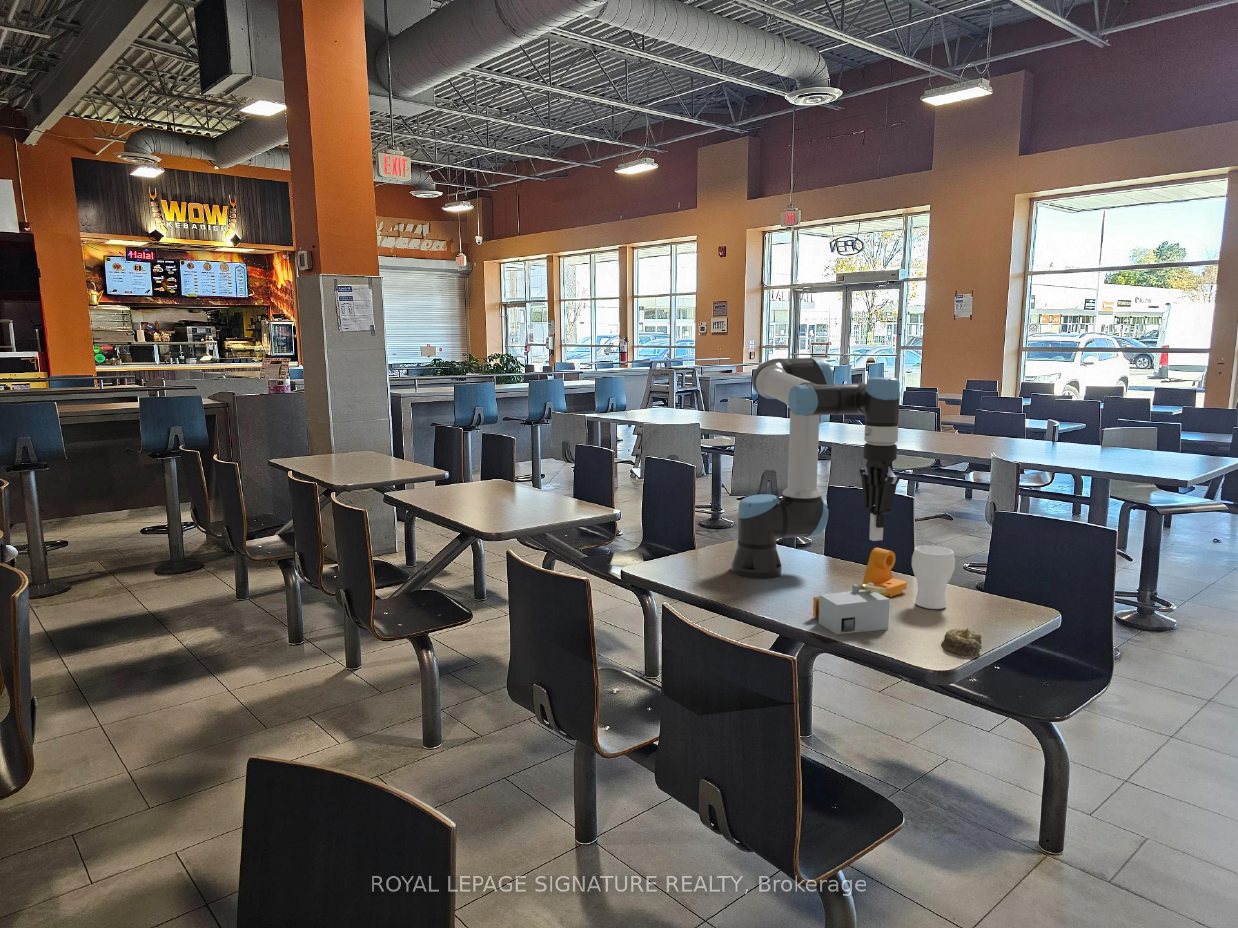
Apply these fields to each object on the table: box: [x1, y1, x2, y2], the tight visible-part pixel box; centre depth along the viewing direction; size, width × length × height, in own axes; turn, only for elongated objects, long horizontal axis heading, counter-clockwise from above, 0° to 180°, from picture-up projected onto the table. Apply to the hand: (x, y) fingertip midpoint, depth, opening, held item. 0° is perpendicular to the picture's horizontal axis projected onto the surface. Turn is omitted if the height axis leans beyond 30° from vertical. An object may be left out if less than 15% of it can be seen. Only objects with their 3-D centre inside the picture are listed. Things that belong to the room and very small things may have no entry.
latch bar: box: [857, 583, 887, 593], centre depth 192 cm, size 9×3×1 cm, turn 16°
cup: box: [911, 544, 956, 610], centre depth 209 cm, size 11×11×15 cm
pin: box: [812, 596, 854, 630], centre depth 194 cm, size 12×5×5 cm, turn 16°
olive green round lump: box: [940, 627, 983, 657], centre depth 179 cm, size 10×10×5 cm
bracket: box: [862, 547, 907, 598], centre depth 220 cm, size 11×7×12 cm, turn 126°
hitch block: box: [818, 583, 891, 635], centre depth 193 cm, size 8×14×10 cm, turn 106°
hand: (876, 539), depth 190 cm, fingers closed
